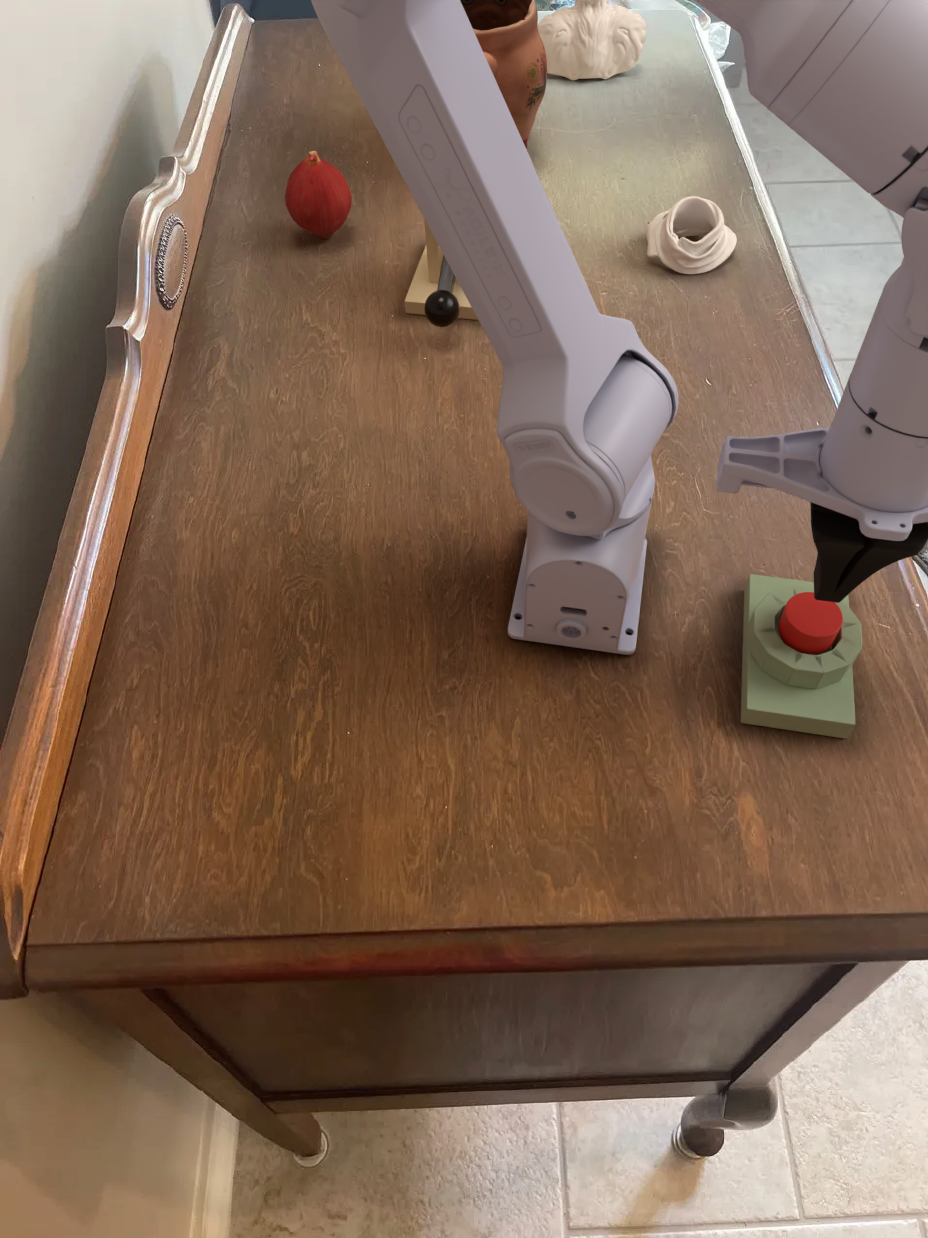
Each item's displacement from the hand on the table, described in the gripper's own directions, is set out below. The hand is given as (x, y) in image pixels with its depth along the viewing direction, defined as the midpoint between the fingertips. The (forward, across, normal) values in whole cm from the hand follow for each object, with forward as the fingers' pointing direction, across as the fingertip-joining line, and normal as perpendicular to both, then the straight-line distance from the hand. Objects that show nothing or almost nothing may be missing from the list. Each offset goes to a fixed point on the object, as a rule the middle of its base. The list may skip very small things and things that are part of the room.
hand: (827, 587), depth 50 cm
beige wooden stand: (+7, -28, +35) cm, 45 cm away
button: (+4, 0, 0) cm, 4 cm away
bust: (+8, -22, +76) cm, 79 cm away
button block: (+7, 0, 0) cm, 7 cm away
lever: (+4, -27, +32) cm, 42 cm away
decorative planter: (+8, -30, +55) cm, 63 cm away
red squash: (+8, -42, +40) cm, 58 cm away
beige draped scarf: (+8, -8, +42) cm, 44 cm away
